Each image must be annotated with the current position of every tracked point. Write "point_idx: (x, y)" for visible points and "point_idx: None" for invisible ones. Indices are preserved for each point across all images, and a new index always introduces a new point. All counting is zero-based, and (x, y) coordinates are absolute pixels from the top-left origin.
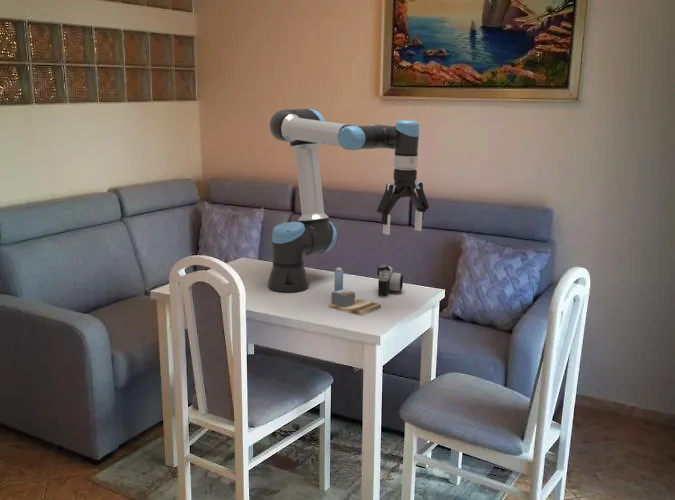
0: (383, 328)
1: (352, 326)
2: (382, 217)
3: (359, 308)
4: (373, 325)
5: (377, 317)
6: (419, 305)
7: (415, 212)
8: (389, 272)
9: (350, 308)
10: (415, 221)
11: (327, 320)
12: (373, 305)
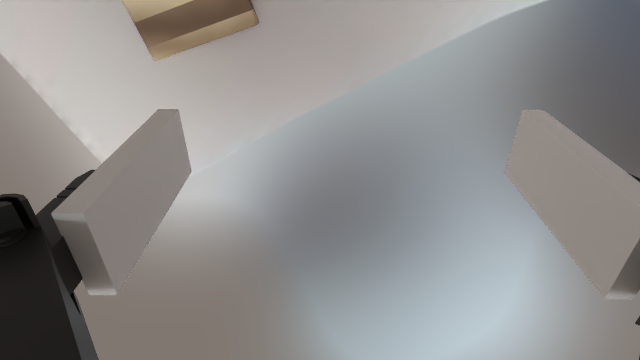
0: None
1: (97, 123)
2: (43, 221)
3: (163, 23)
4: None
5: (198, 98)
6: (389, 70)
7: (634, 203)
8: None
9: (131, 6)
10: (561, 152)
11: (35, 41)
12: (226, 19)
